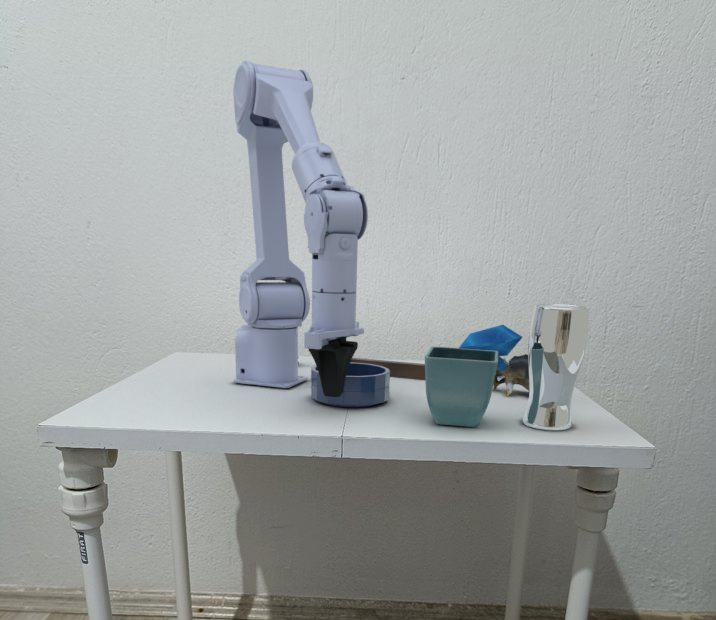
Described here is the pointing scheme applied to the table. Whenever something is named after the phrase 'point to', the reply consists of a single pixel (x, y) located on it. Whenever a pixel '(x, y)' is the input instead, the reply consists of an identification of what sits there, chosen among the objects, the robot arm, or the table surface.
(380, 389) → the bowl
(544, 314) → the beer glass
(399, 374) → the rail
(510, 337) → the crystal
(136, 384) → the table surface
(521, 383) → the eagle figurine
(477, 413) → the flower pot
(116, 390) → the table surface
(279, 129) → the robot arm
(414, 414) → the table surface
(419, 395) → the table surface
